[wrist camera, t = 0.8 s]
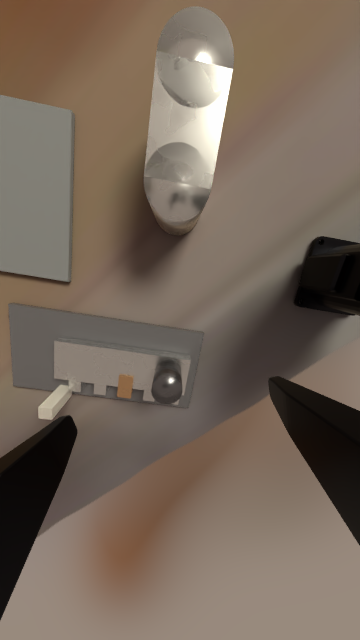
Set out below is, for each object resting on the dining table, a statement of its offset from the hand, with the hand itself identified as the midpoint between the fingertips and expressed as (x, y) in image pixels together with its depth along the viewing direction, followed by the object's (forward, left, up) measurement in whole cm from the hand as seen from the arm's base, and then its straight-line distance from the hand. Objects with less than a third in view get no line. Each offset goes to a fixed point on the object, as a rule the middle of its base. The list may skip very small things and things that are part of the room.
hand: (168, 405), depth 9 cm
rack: (+4, +5, -11) cm, 13 cm away
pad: (+15, -9, -12) cm, 22 cm away
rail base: (+6, +5, -12) cm, 14 cm away
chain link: (+1, -13, -12) cm, 18 cm away
